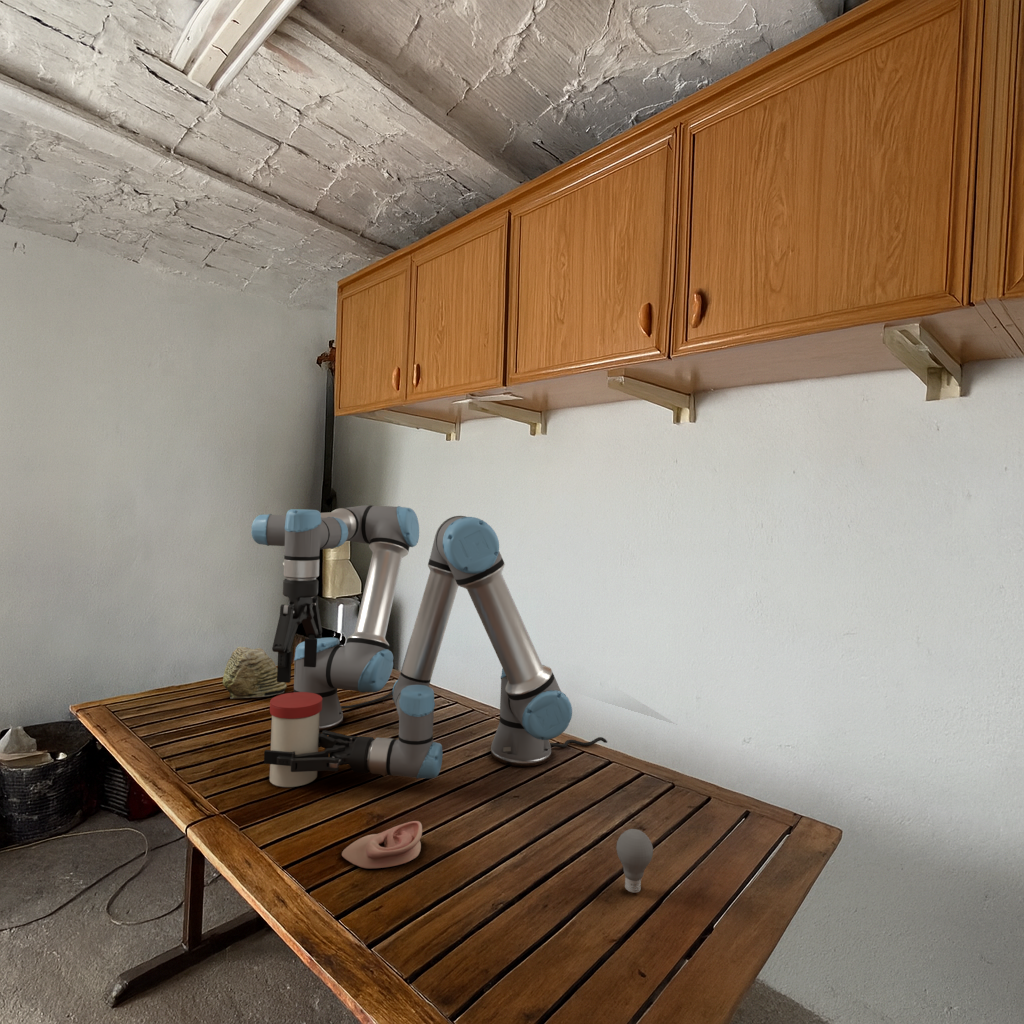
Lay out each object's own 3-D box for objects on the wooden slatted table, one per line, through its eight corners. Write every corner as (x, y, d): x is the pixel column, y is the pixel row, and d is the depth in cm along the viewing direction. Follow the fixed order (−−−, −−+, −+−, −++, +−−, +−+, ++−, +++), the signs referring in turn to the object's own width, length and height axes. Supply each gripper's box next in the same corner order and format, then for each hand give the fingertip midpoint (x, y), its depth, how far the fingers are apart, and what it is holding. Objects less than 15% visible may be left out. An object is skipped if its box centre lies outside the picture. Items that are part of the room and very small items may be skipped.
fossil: (218, 695, 195) (220, 647, 195) (278, 685, 208) (279, 640, 207) (228, 703, 189) (230, 653, 188) (289, 692, 201) (290, 645, 201)
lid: (264, 719, 136) (265, 708, 136) (275, 702, 147) (275, 692, 147) (318, 718, 138) (319, 707, 138) (324, 702, 149) (325, 691, 149)
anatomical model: (334, 840, 110) (362, 809, 121) (333, 863, 110) (362, 830, 121) (406, 852, 107) (429, 819, 118) (405, 875, 107) (428, 840, 118)
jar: (264, 787, 137) (267, 709, 136) (274, 767, 147) (276, 694, 146) (314, 786, 138) (317, 708, 138) (320, 766, 149) (322, 694, 148)
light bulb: (610, 879, 108) (613, 822, 108) (644, 879, 109) (647, 822, 109) (619, 902, 102) (622, 840, 102) (655, 901, 103) (658, 840, 103)
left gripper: (309, 571, 154) (305, 659, 155) (256, 584, 130) (253, 688, 131) (338, 573, 153) (335, 661, 154) (291, 586, 129) (287, 691, 130)
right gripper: (353, 795, 129) (250, 786, 132) (386, 752, 152) (298, 744, 154) (354, 759, 129) (251, 750, 131) (388, 721, 152) (299, 713, 154)
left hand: (297, 674), depth 142 cm, fingers open, 12 cm apart
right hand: (276, 747), depth 143 cm, fingers closed on jar, 10 cm apart
